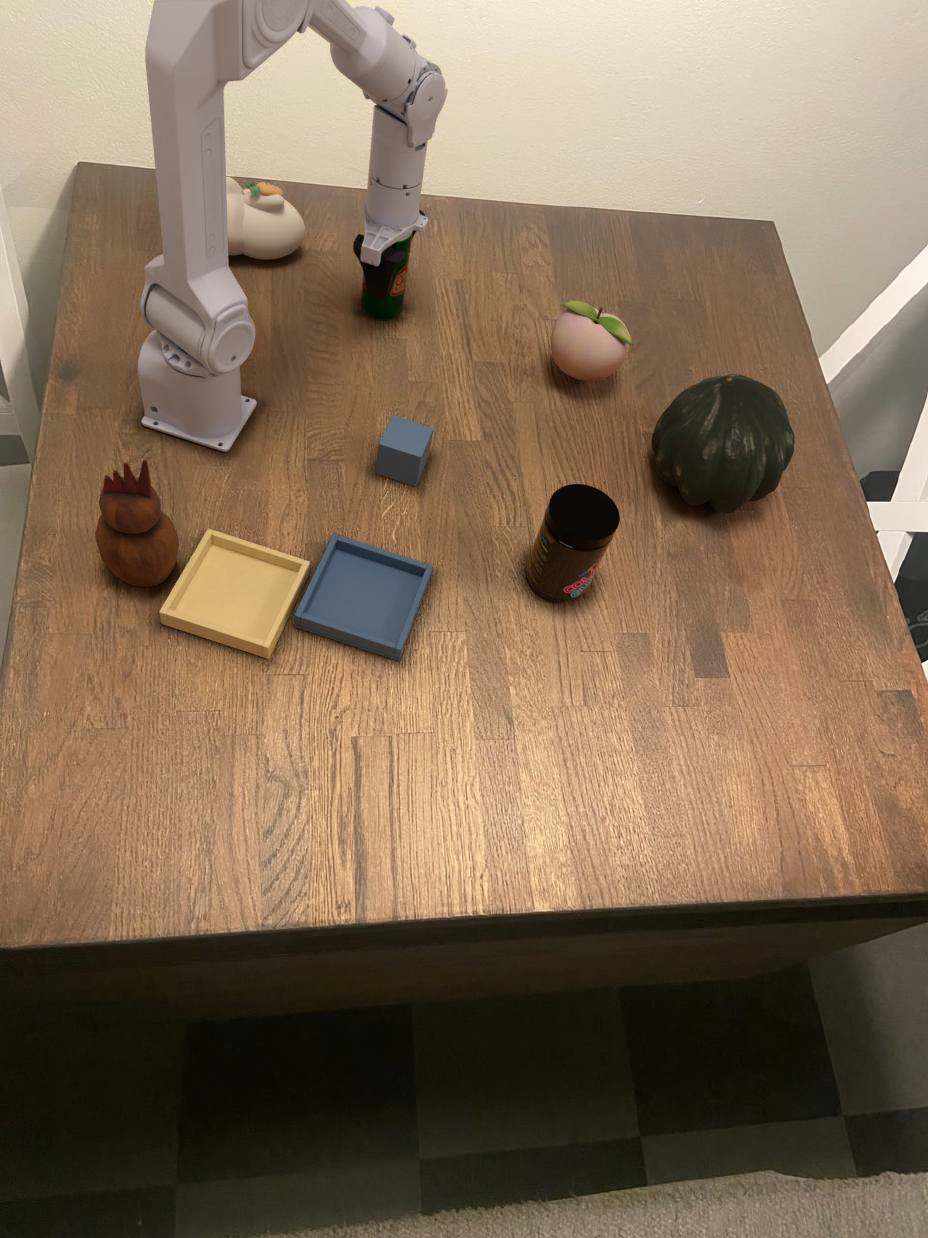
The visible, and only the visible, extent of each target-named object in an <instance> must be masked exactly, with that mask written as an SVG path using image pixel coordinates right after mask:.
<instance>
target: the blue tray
mask: <svg viewBox="0 0 928 1238" xmlns="http://www.w3.org/2000/svg"><path fill="white" fill-rule="evenodd" d="M433 570H434V565H432V564H428V563H425V562H424V561H423V562H422V561H419V560H416V559H413V558H410V557H407V556H405V555H401V554H398V553H394V552H391V551H389V550H386V549H382V548H380V547H377V546H374V545H370V544H367V543H364V542H361V541H359V540H355V539H352V538H349V537H346V536H342V535H340V534H336V533H333V534H332V535H331V537H330V540H329V541H328V543H327V546H326V548H325V549H324V552H323V554H322V556H321V557H320V560H319V563H318V565H317V566H316V569H315V570H314V573H313V575H312V577H311V579H310V581H309V584H308V586H307V588H306V590H305V592H304V593H303V596H302V598H301V600H300V602H299V605H298V606H297V609H296V611H295V613H294V617H293V624H294V625H293V627H294V628H295V629H299V630H302V631H304V632H305V631H306V632H308V633H311V634H315V635H317V636H320V637H324V638H327V639H329V640H332V641H335V642H338V643H342V644H345V645H348V646H351V647H354V648H358V649H360V650H363V651H366V652H369V653H372V654H376V655H379V656H381V657H384V658H388V659H391V660H394V661H397V662H400V660H401V658H402V655H403V652H404V650H405V647H406V645H407V642H408V639H409V637H410V634H411V632H412V630H413V629H412V628H413V626H414V623H415V621H416V618H417V616H418V613H419V610H420V609H421V605H422V602H423V600H424V598H425V594H426V591H427V589H428V586H429V584H430V582H431V578H432V574H433Z"/></svg>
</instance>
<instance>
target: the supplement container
mask: <svg viewBox="0 0 928 1238" xmlns="http://www.w3.org/2000/svg"><path fill="white" fill-rule="evenodd" d="M620 515H621V514H620V510H619V508H618V505H617V503H616V502H615V501H614V500H613V499H612V497H610V496H609V495H608V493H606V492H604V491H603V490H601V489H600V488H597V487H595V486H592V485H588V484H584V483H583V484H582V483H570V484H566V485H564V486H561V487H559V488H557V489H556V490H555V491H554V492H553V493H552V495H551V496H550V498H549V500H548V504H547V505H546V507H545V511H544V516H543V518H542V521H541V523H540V526H539V529H538V532H537V535H536V538H535V540H534V543H533V545H532V548H531V551H530V554H529V557H528V560H527V562H526V566H525V572H526V577H527V581H528V583H529V585H530V586H531V587H532V589H533V590H534V591H535V592H536V593H537V594H538V595H540V596H542V597H543V598H545V599H547V600H550V601H554V602H558V603H559V602H560V603H565V602H566V603H567V602H571V601H574V600H577V599H579V598H581V597H582V596H583V595H584V594H586V593H587V591H588V589H589V587H590V586H591V584H592V581H593V579H594V577H595V575H596V573H597V571H598V569H599V566H600V564H601V562H602V560H603V558H604V556H605V554H606V552H607V549H608V548H609V546H610V543H611V542H612V540H613V539H614V537H615V534H616V532H617V530H618V528H619V525H620V522H621V521H620V520H621V517H620Z"/></svg>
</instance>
